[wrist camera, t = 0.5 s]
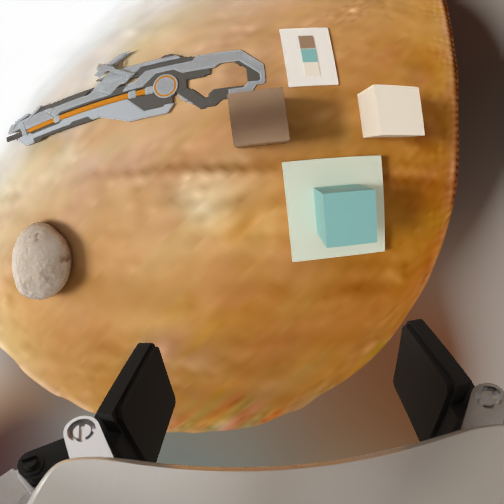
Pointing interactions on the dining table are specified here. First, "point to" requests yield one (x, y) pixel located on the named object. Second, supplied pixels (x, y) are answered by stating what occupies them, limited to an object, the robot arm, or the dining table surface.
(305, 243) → the baseplate
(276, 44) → the dining table surface
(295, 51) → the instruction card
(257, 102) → the walnut brick
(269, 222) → the dining table surface
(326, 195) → the teal brick
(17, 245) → the stone
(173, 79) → the gun
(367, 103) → the cream brick
